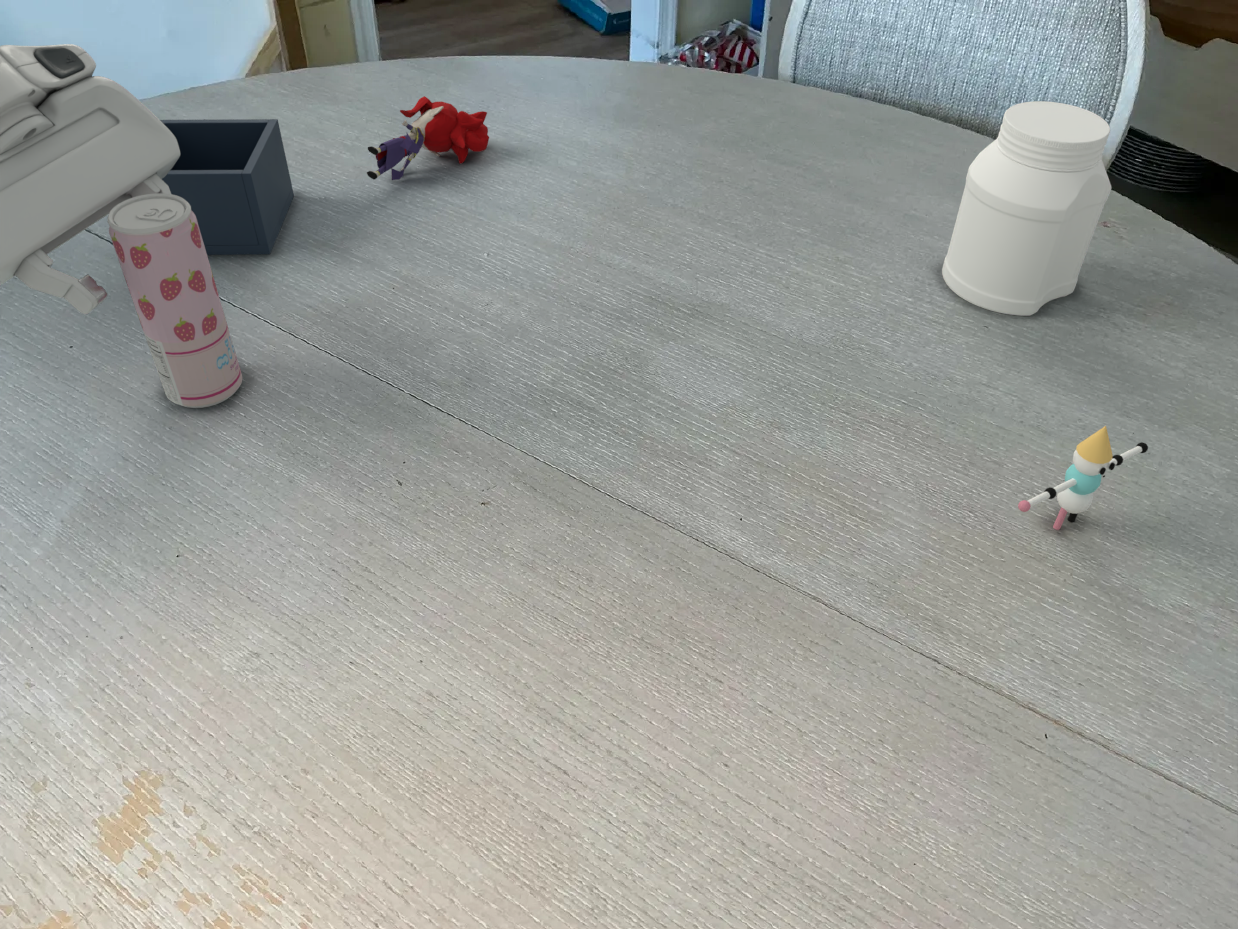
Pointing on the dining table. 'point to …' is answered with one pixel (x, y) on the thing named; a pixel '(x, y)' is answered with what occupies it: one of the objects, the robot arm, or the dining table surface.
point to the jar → (1029, 209)
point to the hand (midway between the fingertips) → (143, 271)
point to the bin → (232, 181)
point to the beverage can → (175, 298)
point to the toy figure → (1083, 476)
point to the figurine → (432, 136)
